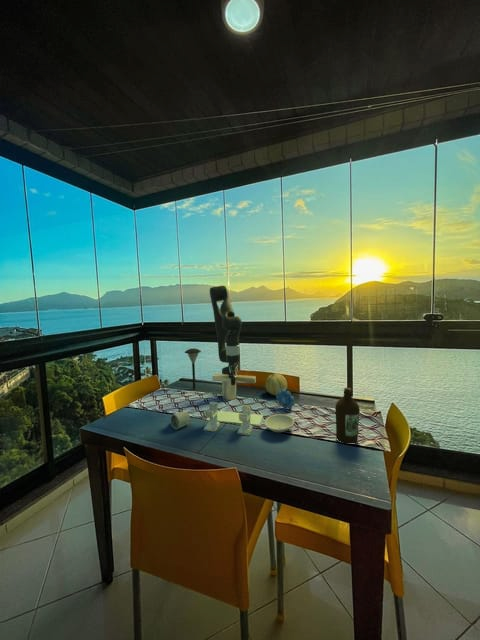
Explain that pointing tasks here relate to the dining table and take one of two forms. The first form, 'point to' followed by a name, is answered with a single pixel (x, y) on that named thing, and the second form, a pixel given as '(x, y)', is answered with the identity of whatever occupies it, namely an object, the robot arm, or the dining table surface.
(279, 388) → the cantaloupe
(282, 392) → the grapes
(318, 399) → the dining table surface
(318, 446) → the dining table surface
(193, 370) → the solar garden light
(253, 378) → the birch batten
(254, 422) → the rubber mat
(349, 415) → the olive oil
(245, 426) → the hook rack
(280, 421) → the dish
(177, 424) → the ceramic mug
